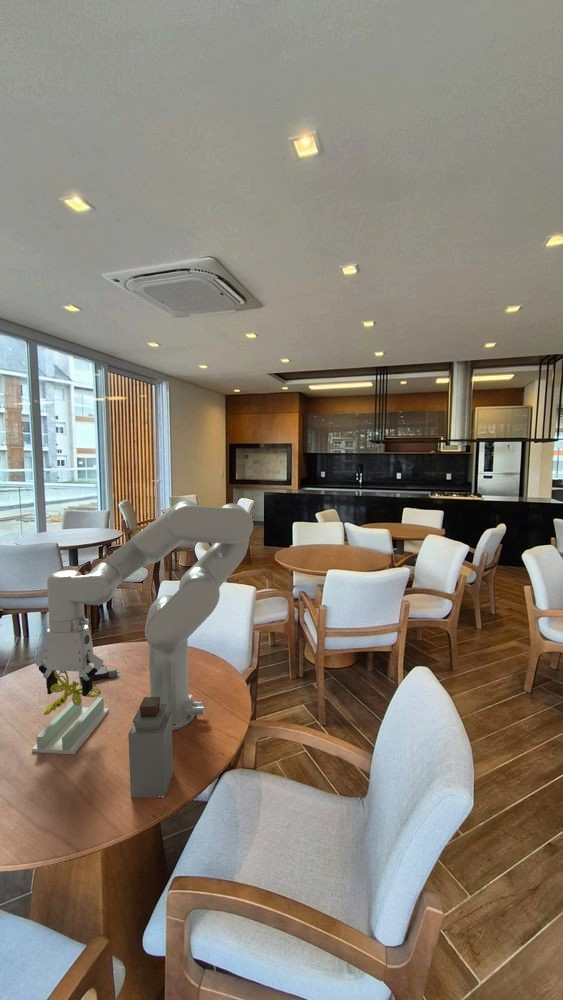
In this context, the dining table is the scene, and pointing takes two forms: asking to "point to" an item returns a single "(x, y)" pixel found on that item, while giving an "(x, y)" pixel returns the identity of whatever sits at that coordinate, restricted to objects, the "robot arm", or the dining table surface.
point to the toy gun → (102, 673)
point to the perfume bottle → (151, 749)
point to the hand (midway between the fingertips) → (70, 691)
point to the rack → (70, 728)
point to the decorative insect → (67, 687)
